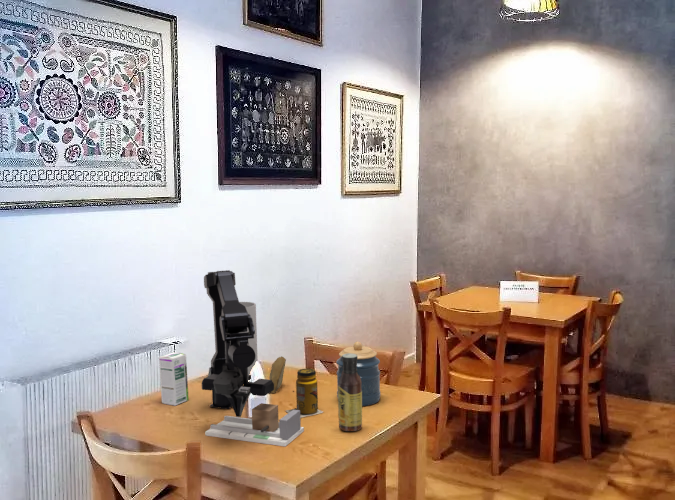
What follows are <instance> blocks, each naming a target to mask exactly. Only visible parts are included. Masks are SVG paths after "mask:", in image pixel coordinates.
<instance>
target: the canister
mask: <svg viewBox="0 0 675 500" xmlns="http://www.w3.org/2000/svg"><path fill="white" fill-rule="evenodd" d="M348 353H352V354H356V355H357V359H358V360H357V373H358V375H359V376H360V378H361V389H362V407H364V406H371V405H374V404H377V403H378V402H379V401H380V397H381V387H380V384H381V381H380V380H381V379H380V378H381V377H380V374H381V370H380V369H379V364H380V363H381V361H380V359H379V358H378V357H376V356H377V355H378V352H377V351H376V350H374V349H373V348H371V347H368V346H364V345H363V344H362V342H360V341H356V342H354V343H353V346H348V347H345V348H344V349H343V350H341V351H340V352H339V353H338V356H339V358H338V359H337V360H336V361H335V362H336V364H337V366H338V367H337V371H336V376H337V377H336V378H337V382H336V383H337V387H336V389H338V383H339V380H340V377H341V374H342V370H343V361H342V355H344V354H348ZM336 394H337V395H336V397H337V398H338V390H337V391H336Z"/></svg>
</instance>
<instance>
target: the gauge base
mask: <svg viewBox="0 0 675 500" xmlns="http://www.w3.org/2000/svg"><path fill="white" fill-rule="evenodd" d="M301 422H302V421H301V418H300V410H292V411H291V412H289V413H288V412H287V413H286V414H285V415H284V416H283V417H281V418H280V419H279V428H278V429H276V430H275V431H274V432H268V431H264V432H261V430H253V429H252V418H248V417H247V418H246V417H241V416H240V417H236V416H232V415H231V416H230V415H224V416H223V420H221V421H220V422H218V423H216V424H213V423H212V424H210V428H209V429H207V430H206V431H205V432H204V433H205V436H206V437H213V438H214V437H216V438H221V439H229V440H236V441H242V442H249V443H259V444H264V445H272V446H273V445H274V446H279V447H287V446H288V445H289V444H290V443H291V442H292V441H294V440H295V439H296V438H297V437H299V436H300V435H301V434H302V433H303V432H305V428H304V426H302V425H301Z"/></svg>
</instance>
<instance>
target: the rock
mask: <svg viewBox="0 0 675 500" xmlns="http://www.w3.org/2000/svg"><path fill="white" fill-rule="evenodd" d="M286 361H287V358H285V357H284V356H279V357H277V358H276V359H275V360H274V362H273V363H272V364H271V368H270V372H269V376H268V378H269V380H272V382H273V383H274V390H273V391H271V392H270V393H271V394H276V393H277V392H278V390H279V389H280V388H281V387H282V384H283V379H284V373H285V367H286ZM270 393H269V394H270Z"/></svg>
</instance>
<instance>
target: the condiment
mask: <svg viewBox="0 0 675 500" xmlns="http://www.w3.org/2000/svg"><path fill="white" fill-rule="evenodd" d="M316 373H317V371H316V370H315V369H314V368H300V369H298V370H297V373H296V374H297V375H296V380H295V381H296V382H295V388H296V389H295V393H296V395H295V396H296V397H295V398H296V399H295V400H296V408H292V409H285V412H286V413H287V414H288V413H289V412H291V411H292V410H300V419H301V418H305V417H310V416H314V415H319V414H322V413H324V411H323V410H320V409H319V407H318V406H319V405H318V403H319V402H318V401H319V397H318V380H317V375H316Z"/></svg>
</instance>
